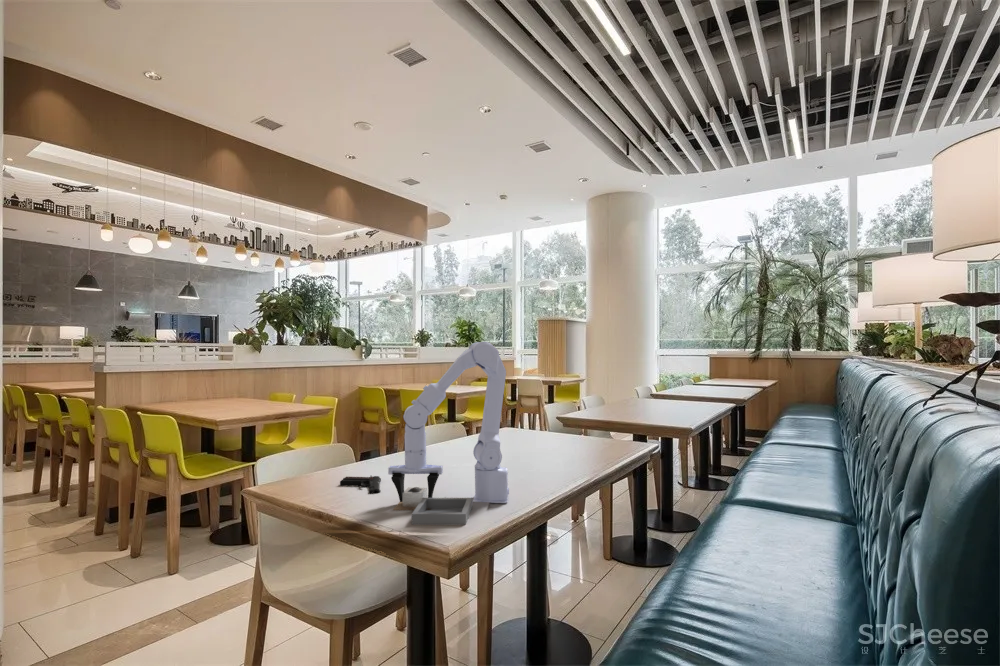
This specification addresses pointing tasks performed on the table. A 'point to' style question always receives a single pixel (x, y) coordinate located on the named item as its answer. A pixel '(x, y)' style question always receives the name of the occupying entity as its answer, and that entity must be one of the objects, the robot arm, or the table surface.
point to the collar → (413, 497)
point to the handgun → (364, 482)
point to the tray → (442, 511)
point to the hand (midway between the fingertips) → (416, 500)
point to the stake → (400, 507)
